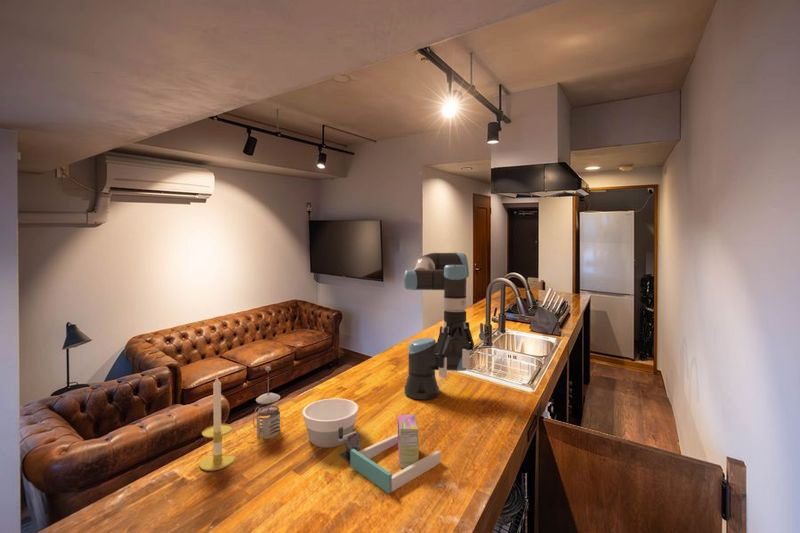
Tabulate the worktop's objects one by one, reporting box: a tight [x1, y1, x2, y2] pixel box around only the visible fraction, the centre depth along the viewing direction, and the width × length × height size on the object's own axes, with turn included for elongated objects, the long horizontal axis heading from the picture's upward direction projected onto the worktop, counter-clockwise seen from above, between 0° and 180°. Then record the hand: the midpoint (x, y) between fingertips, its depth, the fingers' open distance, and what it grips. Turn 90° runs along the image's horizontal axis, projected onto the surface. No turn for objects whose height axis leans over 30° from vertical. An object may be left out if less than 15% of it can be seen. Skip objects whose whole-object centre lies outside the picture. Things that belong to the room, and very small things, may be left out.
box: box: [396, 414, 420, 469], centre depth 113 cm, size 10×6×12 cm, turn 5°
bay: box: [349, 433, 441, 495], centre depth 109 cm, size 17×21×5 cm
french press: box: [252, 365, 281, 440], centre depth 126 cm, size 10×12×25 cm
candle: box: [199, 376, 236, 472], centre depth 111 cm, size 10×10×27 cm
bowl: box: [301, 397, 360, 448], centre depth 125 cm, size 19×19×11 cm
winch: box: [338, 427, 361, 464], centre depth 113 cm, size 6×8×11 cm
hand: (454, 372), depth 122 cm, fingers open, 13 cm apart
